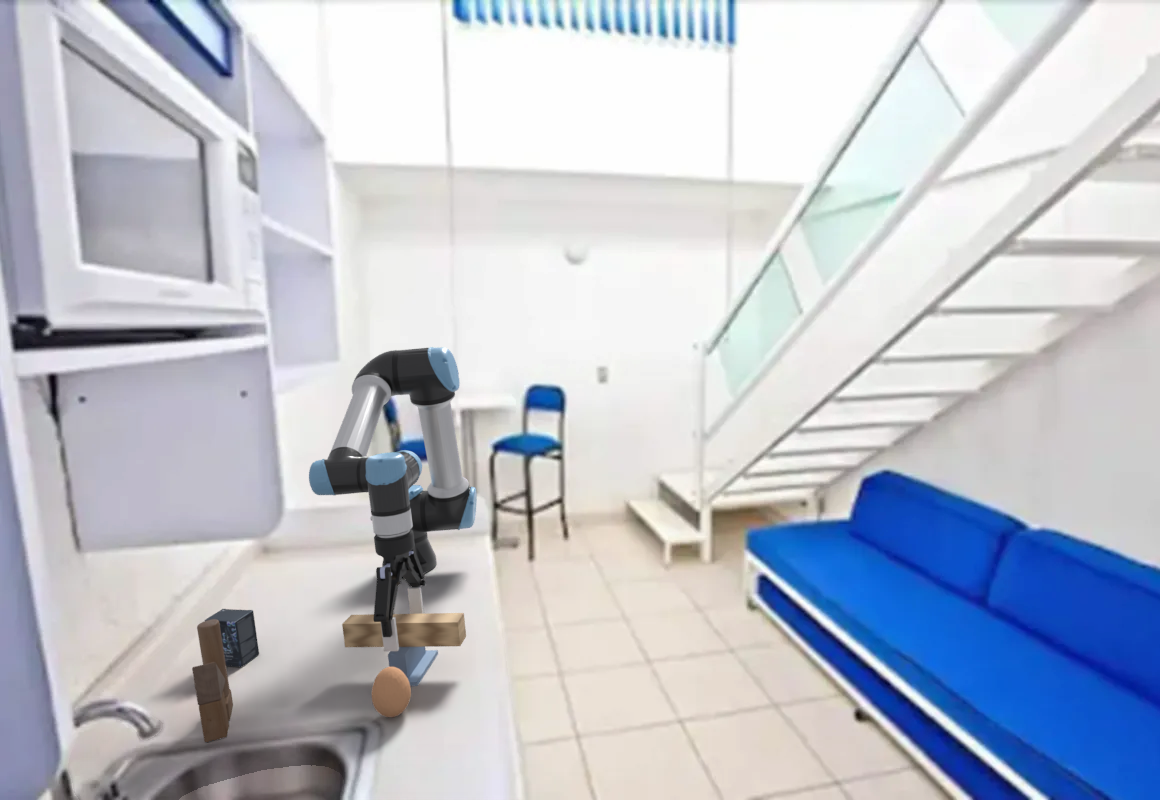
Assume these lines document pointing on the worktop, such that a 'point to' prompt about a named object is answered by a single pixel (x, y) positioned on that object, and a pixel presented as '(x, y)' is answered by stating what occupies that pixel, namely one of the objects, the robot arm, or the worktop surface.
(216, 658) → the wooden block
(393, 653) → the fulcrum
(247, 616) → the box
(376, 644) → the oak bar
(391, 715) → the egg
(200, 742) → the worktop surface
